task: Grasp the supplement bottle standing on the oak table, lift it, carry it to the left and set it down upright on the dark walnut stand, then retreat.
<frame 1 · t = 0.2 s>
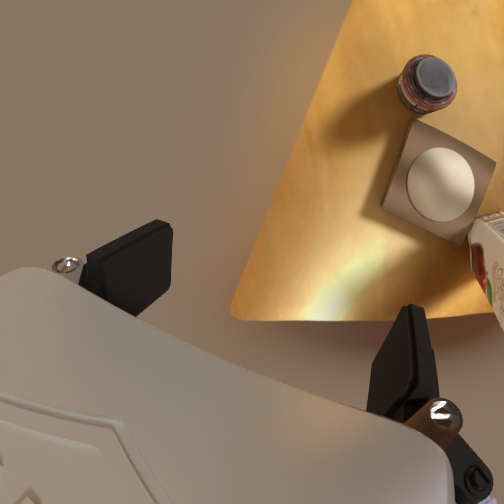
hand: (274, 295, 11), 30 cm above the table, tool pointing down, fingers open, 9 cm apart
juice carton: (486, 238, 32), on the table
supplement bottle: (418, 91, 29), on the table
walnut stand: (436, 180, 32), on the table
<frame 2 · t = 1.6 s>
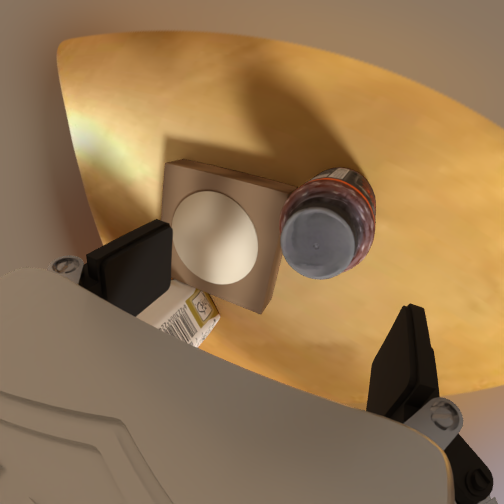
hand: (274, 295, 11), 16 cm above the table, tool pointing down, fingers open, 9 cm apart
juice carton: (190, 299, 36), on the table
supplement bottle: (342, 199, 25), on the table
walnut stand: (227, 229, 30), on the table
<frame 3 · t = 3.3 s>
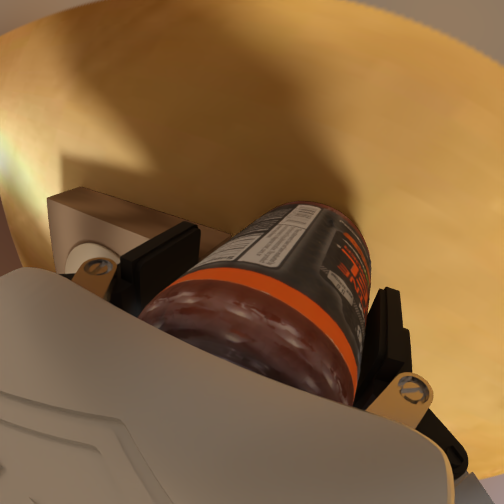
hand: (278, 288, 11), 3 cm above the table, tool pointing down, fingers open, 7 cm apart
supplement bottle: (309, 258, 14), on the table
walnut stand: (141, 289, 19), on the table
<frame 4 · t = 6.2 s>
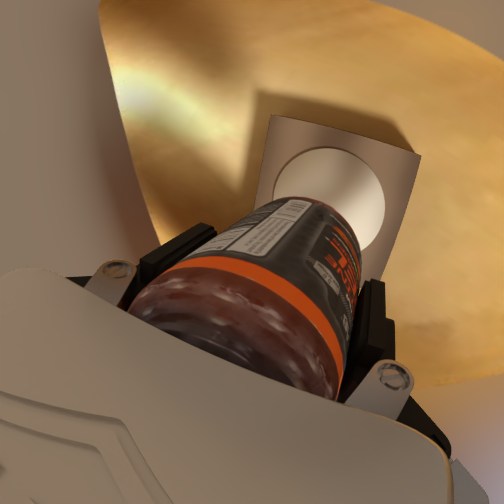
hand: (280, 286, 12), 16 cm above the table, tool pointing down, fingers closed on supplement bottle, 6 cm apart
supplement bottle: (302, 252, 14), point 13 cm above the table, touching gripper
walnut stand: (332, 197, 26), on the table
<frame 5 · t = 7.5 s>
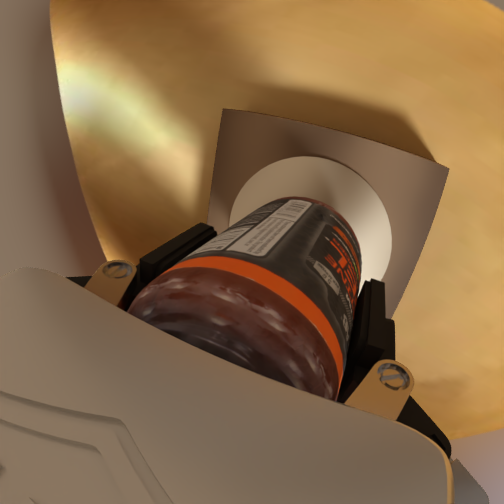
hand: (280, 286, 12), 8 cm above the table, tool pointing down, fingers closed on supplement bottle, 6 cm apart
supplement bottle: (302, 252, 14), point 5 cm above the table, touching gripper
walnut stand: (317, 225, 19), on the table
when the fingers open (7 cm above the table, at t = 8.6 s): supplement bottle stays where it is, resting on walnut stand.
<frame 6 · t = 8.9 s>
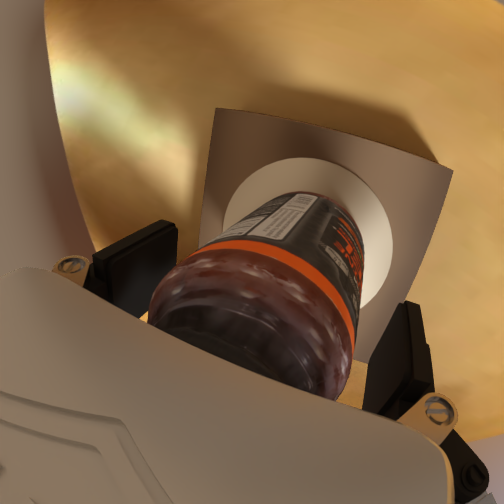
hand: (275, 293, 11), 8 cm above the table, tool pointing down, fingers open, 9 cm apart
supplement bottle: (307, 244, 15), point 3 cm above the table, touching walnut stand
walnut stand: (314, 228, 18), on the table
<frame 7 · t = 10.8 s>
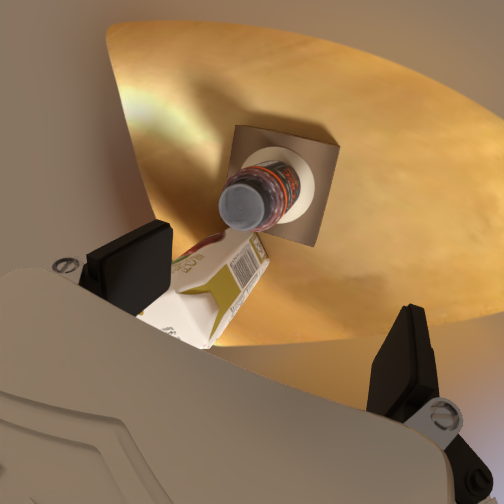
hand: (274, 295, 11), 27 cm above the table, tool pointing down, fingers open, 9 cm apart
juice carton: (240, 248, 42), on the table
supplement bottle: (276, 184, 34), point 3 cm above the table, touching walnut stand
walnut stand: (281, 181, 37), on the table
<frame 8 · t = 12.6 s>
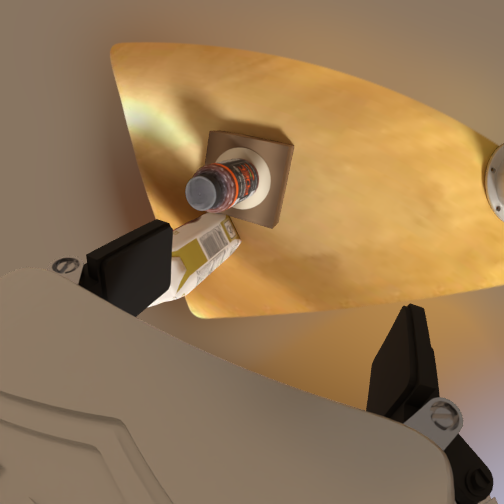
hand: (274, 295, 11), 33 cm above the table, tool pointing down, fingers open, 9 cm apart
juice carton: (218, 231, 51), on the table
supplement bottle: (241, 177, 42), point 3 cm above the table, touching walnut stand
walnut stand: (248, 175, 45), on the table
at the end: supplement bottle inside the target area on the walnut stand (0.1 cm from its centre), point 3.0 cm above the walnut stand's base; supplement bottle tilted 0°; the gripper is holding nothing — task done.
